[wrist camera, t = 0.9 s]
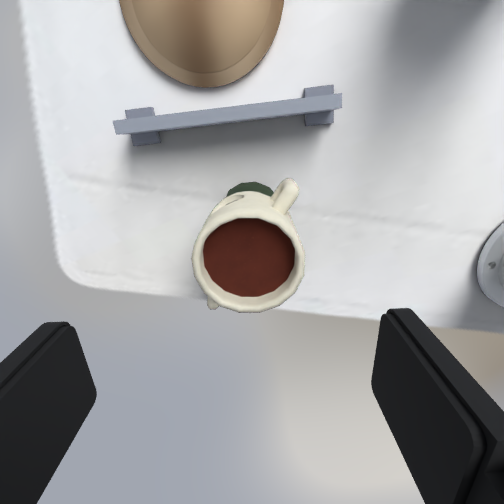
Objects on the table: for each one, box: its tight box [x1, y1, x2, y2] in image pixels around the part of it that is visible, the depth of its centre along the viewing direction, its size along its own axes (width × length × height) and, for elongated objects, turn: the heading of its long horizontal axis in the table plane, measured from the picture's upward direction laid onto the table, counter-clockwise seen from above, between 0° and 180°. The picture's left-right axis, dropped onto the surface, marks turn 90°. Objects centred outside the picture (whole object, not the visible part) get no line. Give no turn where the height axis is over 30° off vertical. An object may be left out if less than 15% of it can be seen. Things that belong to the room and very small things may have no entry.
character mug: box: [191, 178, 305, 313], centre depth 24 cm, size 11×7×13 cm, turn 147°
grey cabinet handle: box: [113, 85, 342, 146], centre depth 24 cm, size 18×3×4 cm, turn 96°
